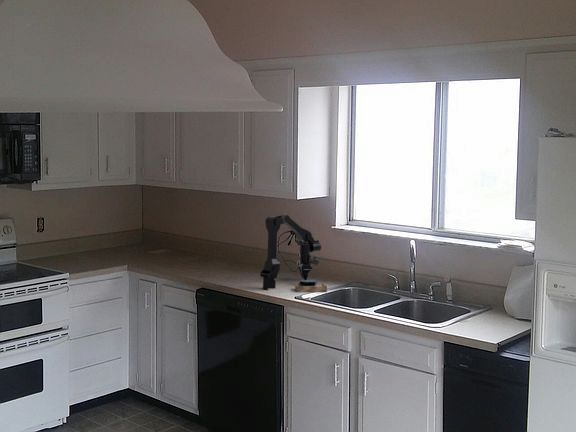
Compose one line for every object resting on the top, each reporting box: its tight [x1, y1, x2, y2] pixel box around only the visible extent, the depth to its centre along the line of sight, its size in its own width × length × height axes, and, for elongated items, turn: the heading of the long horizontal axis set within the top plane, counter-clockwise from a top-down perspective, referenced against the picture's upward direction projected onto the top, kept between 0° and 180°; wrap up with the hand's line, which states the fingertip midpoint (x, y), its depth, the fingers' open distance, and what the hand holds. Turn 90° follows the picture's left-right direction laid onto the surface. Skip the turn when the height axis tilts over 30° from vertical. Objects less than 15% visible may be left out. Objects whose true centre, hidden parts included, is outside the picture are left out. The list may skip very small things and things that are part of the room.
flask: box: [298, 279, 318, 286], centre depth 422 cm, size 9×3×11 cm
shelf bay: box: [294, 282, 328, 293], centre depth 406 cm, size 16×12×3 cm
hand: (304, 279), depth 431 cm, fingers open, 8 cm apart
